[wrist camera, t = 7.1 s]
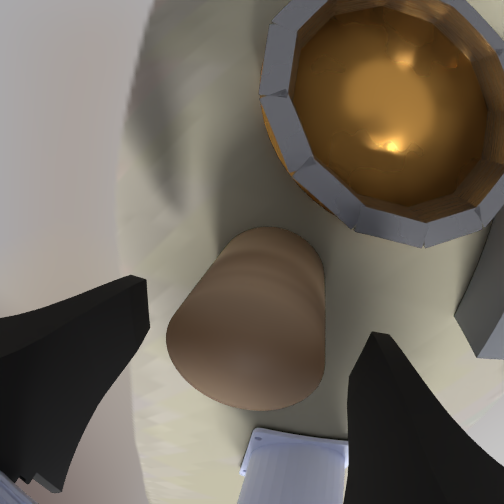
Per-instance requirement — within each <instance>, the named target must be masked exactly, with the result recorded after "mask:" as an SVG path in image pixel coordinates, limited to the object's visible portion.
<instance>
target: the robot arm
mask: <svg viewBox="0 0 504 504" xmlns="http://www.w3.org/2000/svg"><path fill="white" fill-rule="evenodd" d="M149 329H150V321H149V310H148V297H147V281H146V279H143V278H140V277H136V276H133V275H129V276H126V277H123V278H120V279H117V280H114V281H112V282H109V283H107V284H104V285H102V286H99V287H97V288H94V289H92V290H89V291H87V292H84V293H82V294H79V295H77V296H74V297H71V298H68V299H66V300H63V301H60V302H57V303H55V304H52V305H49V306H46V307H43V308H40V309H37V310H33V311H30V312H26V313H22V314H19V315H14V316H9V317H4V318H0V504H38V503H37V502H35V501H34V500H33V499H32V498H30V497H29V496H28V495H27V494H26V493H25V492H24V491H22V490H21V489H20V488H19V487H18V486H17V485H16V484H15V482H16V481H17V479H18V478H20V479H22V480H23V481H24V482H25V483H26V484H29V483H30V482H31V480H32V479H34V480H35V481H37V482H38V483H39V484H41V485H42V486H44V487H45V488H46V489H48V490H49V491H50V492H52V493H60V492H62V489H63V485H64V482H65V479H66V475H67V472H68V469H69V466H70V463H71V461H72V458H73V456H74V453H75V451H76V448H77V446H78V443H79V441H80V439H81V437H82V435H83V433H84V431H85V428H86V426H87V424H88V423H89V421H90V419H91V417H92V415H93V413H94V411H95V410H96V408H97V406H98V404H99V403H100V401H101V400H102V398H103V397H104V395H105V394H106V393H107V391H108V390H109V388H110V387H111V386H112V384H113V383H114V382H115V380H116V379H117V378H118V376H119V375H120V374H121V372H122V371H123V370H124V368H125V367H126V366H127V364H128V363H129V362H130V360H131V359H132V358H133V356H134V355H135V353H136V352H137V351H138V349H139V347H140V345H141V344H142V342H143V340H144V338H145V336H146V334H147V333H148V331H149ZM347 416H348V441H343V440H333V439H324V438H316V437H309V436H302V435H296V434H290V433H285V432H279V431H274V430H269V429H264V428H255V429H254V430H253V432H252V435H251V439H250V442H249V445H248V448H247V451H246V454H245V457H244V460H243V463H242V466H241V468H240V472H239V474H240V475H242V476H245V478H244V482H243V485H242V489H241V492H240V495H239V499H238V502H237V504H342V503H343V489H344V472H345V468H346V467H347V466H348V477H347V484H346V491H345V497H344V503H343V504H504V467H503V466H502V465H501V464H499V463H498V462H497V461H496V460H495V459H493V458H492V457H491V456H489V454H487V453H486V452H485V451H484V450H483V449H482V448H481V447H480V446H479V445H477V443H476V442H474V441H473V440H472V439H471V438H470V437H469V436H468V435H467V433H466V432H465V431H464V430H463V429H462V428H461V427H460V426H459V425H458V424H457V422H456V421H455V420H454V419H453V418H452V417H451V416H450V415H449V413H448V412H447V411H446V410H445V408H444V407H443V406H442V405H441V403H440V402H439V401H438V400H437V398H436V397H435V396H434V394H433V393H432V392H431V390H430V389H429V388H428V386H427V385H426V384H425V382H424V381H423V380H422V378H421V377H420V375H419V374H418V373H417V371H416V370H415V368H414V367H413V366H412V364H411V363H410V361H409V360H408V359H407V357H406V356H405V354H404V353H403V352H402V350H401V349H400V348H399V346H398V345H397V343H396V342H395V341H394V340H393V338H392V337H391V336H390V335H389V334H383V333H377V332H371V334H370V336H369V338H368V340H367V342H366V345H365V347H364V349H363V351H362V353H361V355H360V357H359V359H358V360H357V362H356V364H355V366H354V368H353V370H352V372H351V374H350V376H349V385H348V398H347Z"/></svg>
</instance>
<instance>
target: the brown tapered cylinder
mask: <svg viewBox="0 0 504 504" xmlns="http://www.w3.org/2000/svg"><path fill="white" fill-rule="evenodd" d="M166 344H167V350H168V353H169V356H170V358H171V360H172V362H173V364H174V366H175V367H176V369H177V370H178V372H179V373H180V374H181V376H182V377H183V378H184V379H185V380H186V381H187V382H188V383H189V384H191V385H192V386H193V387H194V388H195V389H197V390H198V391H200V392H201V393H203V394H204V395H206V396H208V397H209V398H211V399H213V400H215V401H218V402H220V403H223V404H225V405H228V406H232V407H236V408H240V409H246V410H256V411H267V410H276V409H281V408H286V407H289V406H291V405H294V404H296V403H298V402H300V401H302V400H304V399H305V398H307V397H308V396H309V395H310V394H311V393H313V391H314V390H315V389H316V388H317V387H318V385H319V383H320V382H321V380H322V377H323V374H324V369H325V276H324V269H323V264H322V262H321V259H320V257H319V256H318V254H317V252H316V251H315V250H314V248H313V247H312V246H311V245H310V244H309V243H308V242H307V241H306V240H305V239H303V238H302V237H301V236H299V235H297V234H295V233H293V232H291V231H288V230H285V229H282V228H277V227H258V228H253V229H250V230H247V231H245V232H243V233H241V234H239V235H237V236H236V237H235V238H233V239H232V240H231V241H230V242H229V243H228V244H227V246H226V247H225V248H224V250H223V251H222V252H221V253H220V255H219V256H218V257H217V259H216V260H215V261H214V263H213V264H212V265H211V266H210V268H209V269H208V270H207V272H206V273H205V274H204V276H203V277H202V278H201V280H200V281H199V282H198V283H197V285H196V286H195V287H194V289H193V290H192V291H191V293H190V294H189V295H188V297H187V298H186V299H185V301H184V302H183V303H182V305H181V306H180V307H179V309H178V310H177V311H176V313H175V314H174V315H173V317H172V318H171V320H170V322H169V325H168V328H167V333H166Z"/></svg>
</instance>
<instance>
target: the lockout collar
mask: <svg viewBox="0 0 504 504" xmlns="http://www.w3.org/2000/svg"><path fill="white" fill-rule="evenodd" d="M272 23H273V24H270V25H269V31H268V37H267V43H266V50H265V56H264V61H263V65H262V69H261V79H260V88H259V95H260V102H261V108H262V113H263V118H264V123H265V126H266V129H267V132H268V135H269V138H270V141H271V143H272V145H273V147H274V149H275V151H276V153H277V155H278V157H279V159H280V160H281V162H282V164H283V165H284V167H285V168H286V170H287V172H288V173H289V174H290V175H291V177H292V178H293V179H294V180H295V182H296V183H297V184H298V185H299V187H300V188H301V189H302V190H303V191H305V192H306V193H307V194H308V195H309V196H310V197H311V198H312V199H313V200H314V201H315V202H316V203H318V204H319V205H320V206H322V207H323V208H324V209H325V210H327V211H328V212H330V213H331V214H333V215H335V216H336V217H338V218H339V219H340V220H341V221H342V222H343V223H345V224H346V225H347V226H348V227H349V228H350V229H352V228H354V231H355V232H358V233H362V234H367V235H371V236H375V237H379V238H383V239H387V240H391V241H395V242H399V243H403V244H407V245H411V246H415V247H418V248H422V246H424V247H425V248H428V247H431V246H434V245H437V244H440V243H443V242H446V241H449V240H452V239H455V238H458V237H461V236H464V235H467V234H470V233H473V232H476V231H479V230H482V226H484V227H486V226H487V224H488V223H489V222H490V221H491V220H492V219H493V217H494V216H495V215H496V214H497V212H498V211H499V210H500V209H501V207H502V206H503V205H504V41H503V40H502V39H501V38H500V37H499V35H498V34H497V33H496V32H495V31H494V30H493V28H492V27H491V26H490V25H489V24H488V23H487V22H486V21H485V20H484V19H483V17H482V16H481V15H480V14H479V13H478V12H477V11H476V10H475V9H474V8H473V7H472V6H471V5H470V4H469V3H468V2H467V1H466V0H291V1H290V2H289V3H288V4H287V5H286V6H285V7H284V8H283V9H282V10H281V11H280V12H279V13H278V14H277V15H276V16H275V17H274V18H273V20H272Z"/></svg>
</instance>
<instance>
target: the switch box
mask: <svg viewBox="0 0 504 504" xmlns="http://www.w3.org/2000/svg"><path fill="white" fill-rule="evenodd" d="M454 317H455V319H456V321H457V322H458V324H459V326H460V328H461V329H462V331H463V333H464V335H465V337H466V338H467V340H468V342H469V344H470V346H471V348H472V350H473V352H474V354H475V356H476V358H485V359H503V360H504V205H503V206H502V207H501V209H500V210H499V211H498V212H497V214H496V215H495V217H494V220H493V223H492V226H491V229H490V232H489V235H488V238H487V241H486V244H485V247H484V250H483V252H482V255H481V258H480V260H479V263H478V265H477V268H476V270H475V272H474V275H473V277H472V279H471V282H470V284H469V286H468V288H467V291H466V293H465V295H464V297H463V299H462V301H461V303H460V305H459V307H458V309H457V311H456V313H455V315H454Z"/></svg>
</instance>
